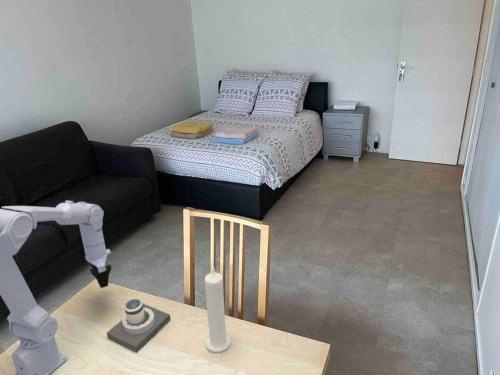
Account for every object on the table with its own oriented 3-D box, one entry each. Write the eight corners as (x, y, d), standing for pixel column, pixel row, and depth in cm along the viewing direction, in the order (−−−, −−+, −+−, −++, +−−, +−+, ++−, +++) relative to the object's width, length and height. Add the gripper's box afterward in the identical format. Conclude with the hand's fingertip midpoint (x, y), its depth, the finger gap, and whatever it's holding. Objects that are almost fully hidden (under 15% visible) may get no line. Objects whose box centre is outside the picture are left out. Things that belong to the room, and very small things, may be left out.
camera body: (136, 352, 102) (134, 341, 101) (107, 338, 107) (105, 327, 105) (170, 319, 113) (169, 309, 112) (142, 308, 118) (141, 297, 117)
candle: (227, 354, 101) (222, 276, 91) (201, 351, 102) (194, 273, 92) (233, 335, 107) (230, 260, 97) (209, 331, 109) (203, 257, 99)
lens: (148, 325, 108) (144, 305, 105) (131, 332, 106) (126, 312, 103) (143, 315, 112) (139, 295, 109) (126, 322, 110) (122, 302, 107)
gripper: (113, 248, 107) (120, 288, 113) (102, 227, 119) (109, 264, 124) (87, 256, 104) (95, 296, 109) (78, 233, 116) (86, 271, 121)
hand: (101, 279), depth 117 cm, fingers open, 7 cm apart
